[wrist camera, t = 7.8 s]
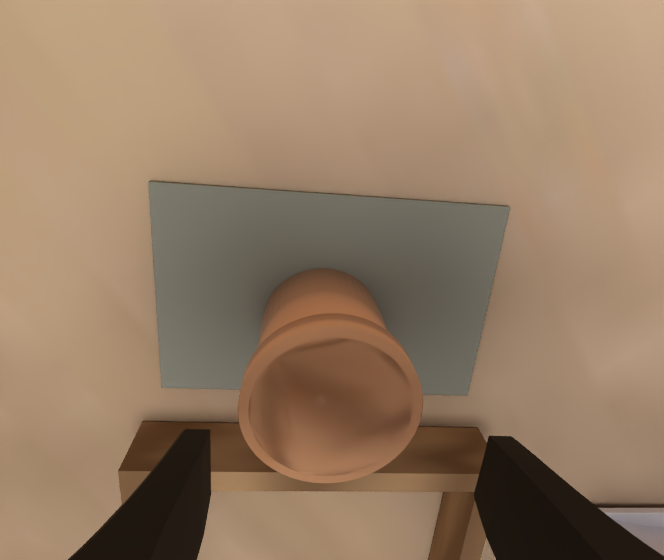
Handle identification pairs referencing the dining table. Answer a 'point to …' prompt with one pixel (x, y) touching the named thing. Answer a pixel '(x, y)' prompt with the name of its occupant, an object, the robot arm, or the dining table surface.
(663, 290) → the dining table surface
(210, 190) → the rubber mat
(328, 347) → the terracotta pot
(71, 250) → the dining table surface
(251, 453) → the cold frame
